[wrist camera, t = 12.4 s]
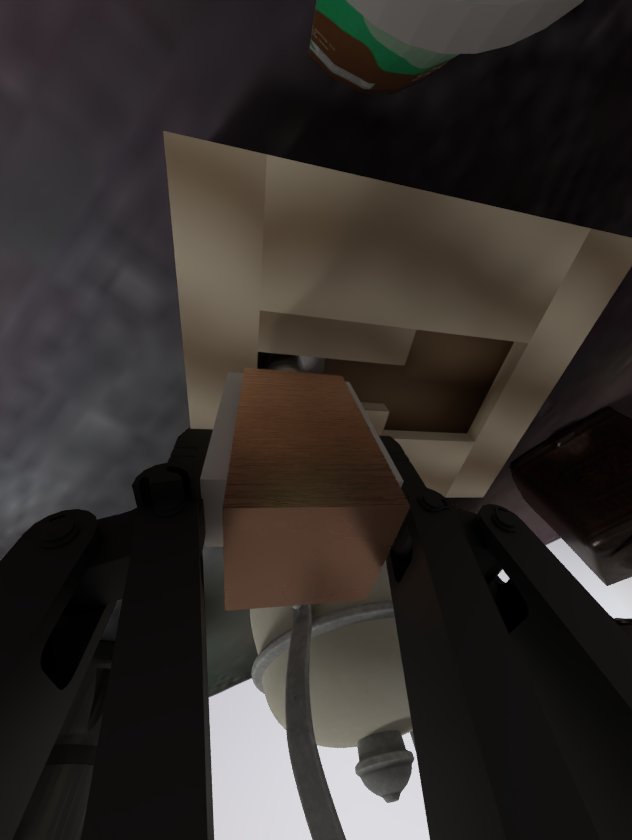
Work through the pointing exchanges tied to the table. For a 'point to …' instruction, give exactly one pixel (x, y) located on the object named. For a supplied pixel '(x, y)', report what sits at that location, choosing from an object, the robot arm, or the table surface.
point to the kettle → (336, 694)
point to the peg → (304, 491)
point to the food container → (417, 36)
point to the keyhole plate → (383, 299)
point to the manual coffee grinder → (586, 492)
